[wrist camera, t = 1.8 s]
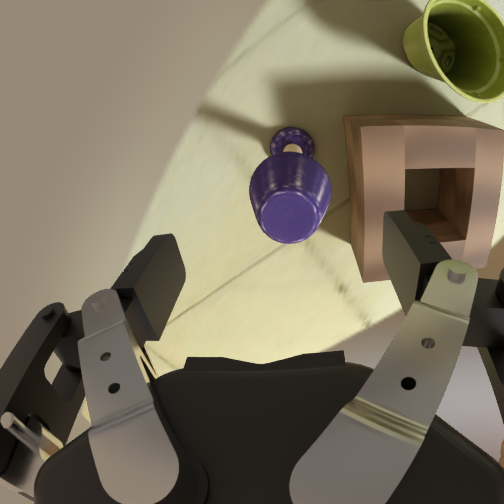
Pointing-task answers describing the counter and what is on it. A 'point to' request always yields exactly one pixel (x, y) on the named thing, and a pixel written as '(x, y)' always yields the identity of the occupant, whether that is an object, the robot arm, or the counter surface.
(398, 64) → the counter surface
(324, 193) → the toy lamp
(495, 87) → the plant pot
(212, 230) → the counter surface
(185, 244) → the counter surface
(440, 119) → the socket block
